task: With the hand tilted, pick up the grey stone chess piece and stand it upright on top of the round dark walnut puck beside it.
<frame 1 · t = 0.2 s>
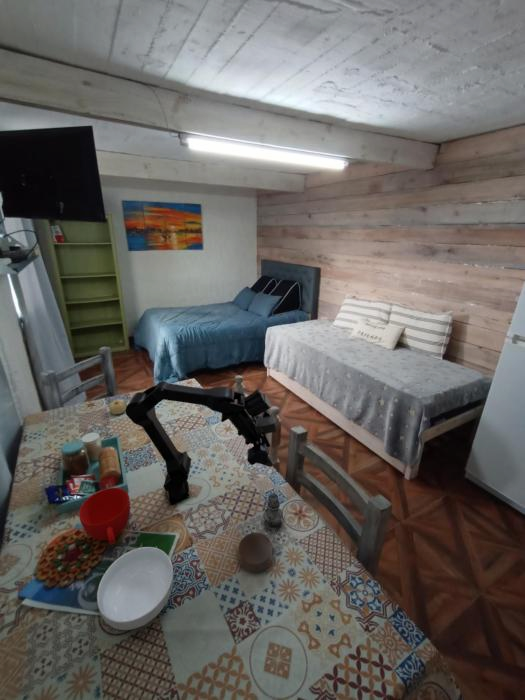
hand: (270, 455, 102), 15 cm above the table, tool tilted 35°, fingers open, 9 cm apart
ceramic cup: (111, 535, 92), on the table
cereal bowl: (140, 599, 76), on the table
onion: (119, 412, 153), on the table
walnut puck: (255, 556, 86), on the table
grey stone chess piece: (273, 523, 96), on the table
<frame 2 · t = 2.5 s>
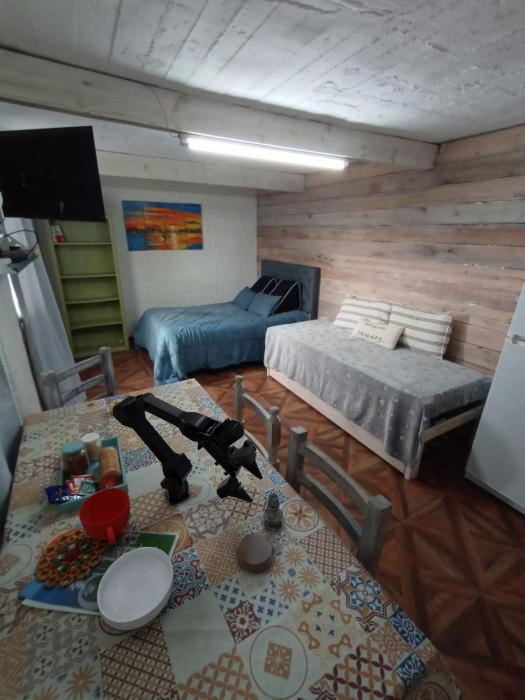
hand: (256, 489, 93), 12 cm above the table, tool tilted 45°, fingers open, 9 cm apart
nothing on the table moved.
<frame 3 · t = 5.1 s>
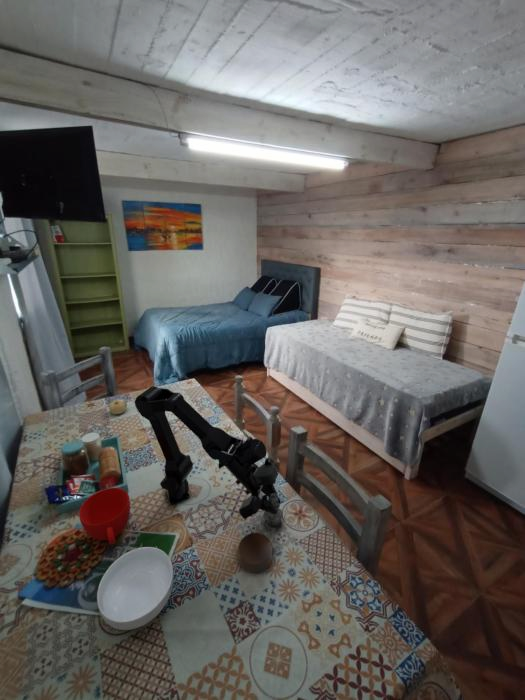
hand: (277, 508, 93), 7 cm above the table, tool tilted 45°, fingers closed on grey stone chess piece, 3 cm apart
grey stone chess piece: (273, 523, 96), on the table, touching gripper
everything else where it was.
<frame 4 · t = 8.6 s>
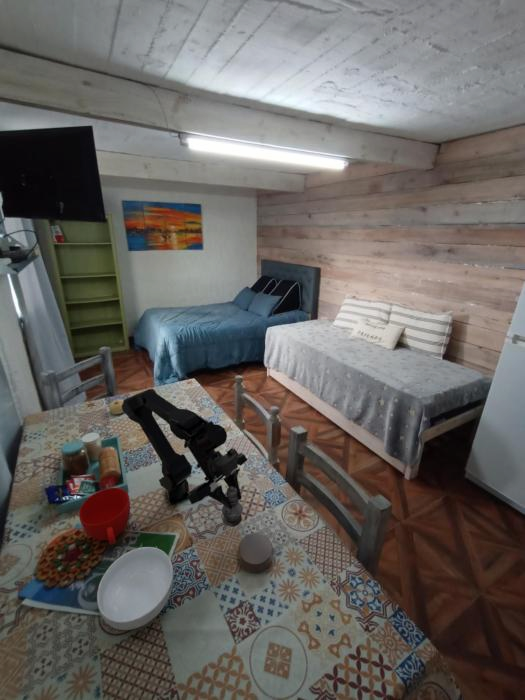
hand: (235, 503, 86), 13 cm above the table, tool tilted 45°, fingers closed on grey stone chess piece, 3 cm apart
grey stone chess piece: (232, 519, 90), point 7 cm above the table, touching gripper
everything else where it was.
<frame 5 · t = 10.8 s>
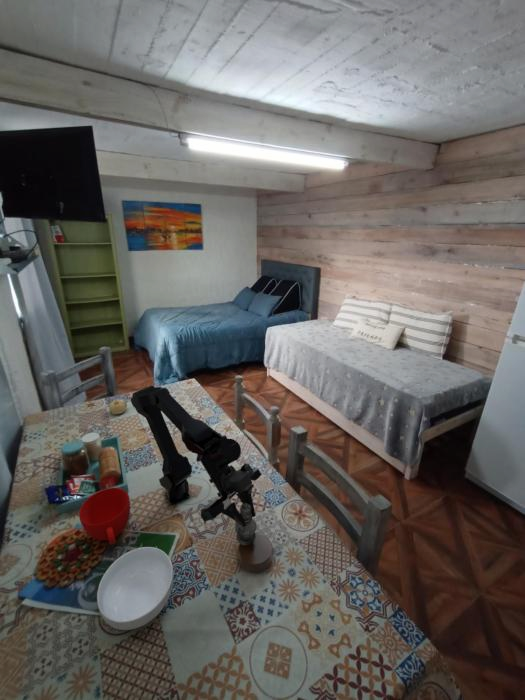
hand: (249, 521, 83), 12 cm above the table, tool tilted 45°, fingers closed on grey stone chess piece, 3 cm apart
grey stone chess piece: (246, 536, 86), point 5 cm above the table, touching gripper
everything else where it was.
when the fingers open (10 cm above the table, at t = 12.2 s): grey stone chess piece stays where it is, resting on walnut puck.
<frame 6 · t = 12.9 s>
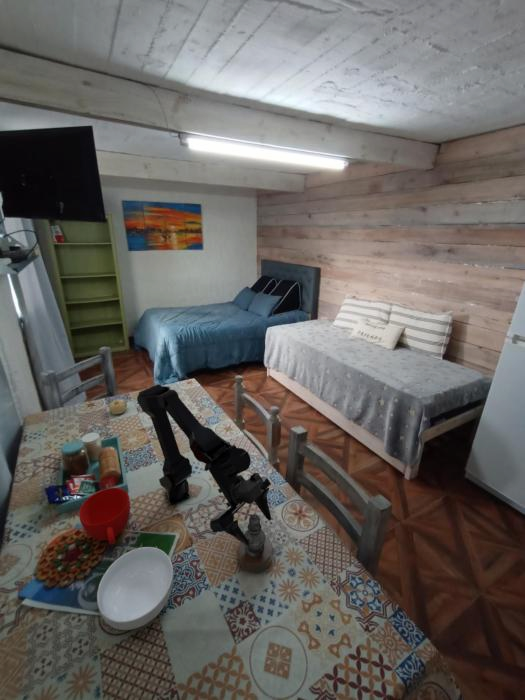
hand: (259, 531, 82), 10 cm above the table, tool tilted 45°, fingers open, 9 cm apart
walnut puck: (255, 556, 86), on the table, touching grey stone chess piece
grey stone chess piece: (254, 547, 85), point 3 cm above the table, touching walnut puck
everything else where it was.
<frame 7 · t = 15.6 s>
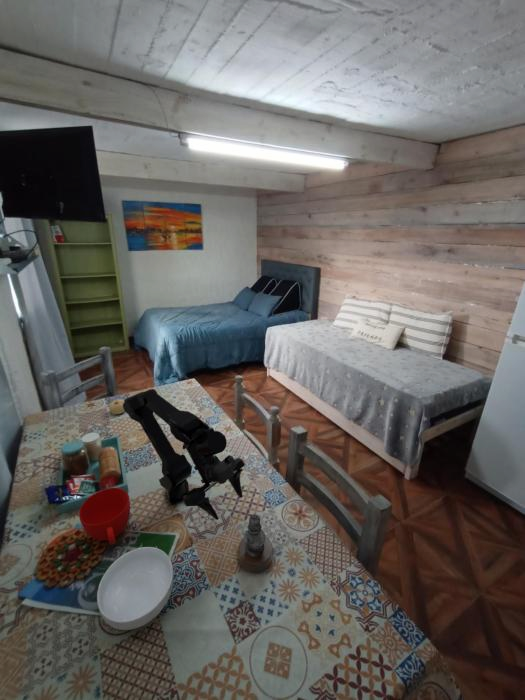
hand: (229, 508, 88), 11 cm above the table, tool tilted 40°, fingers open, 9 cm apart
nothing on the table moved.
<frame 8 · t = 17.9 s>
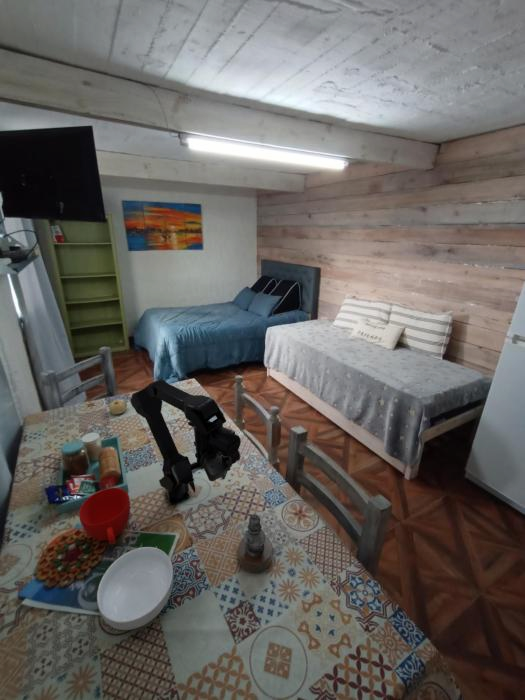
hand: (208, 484, 93), 13 cm above the table, tool pointing down, fingers open, 9 cm apart
nothing on the table moved.
at the end: grey stone chess piece 0.2 cm off-centre on the walnut puck, point 3.3 cm above the walnut puck's base; grey stone chess piece tilted 0°; the gripper is holding nothing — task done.
